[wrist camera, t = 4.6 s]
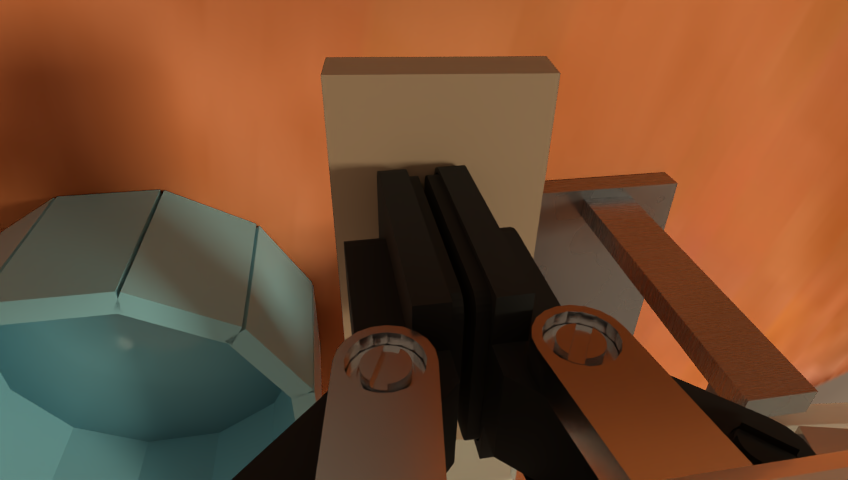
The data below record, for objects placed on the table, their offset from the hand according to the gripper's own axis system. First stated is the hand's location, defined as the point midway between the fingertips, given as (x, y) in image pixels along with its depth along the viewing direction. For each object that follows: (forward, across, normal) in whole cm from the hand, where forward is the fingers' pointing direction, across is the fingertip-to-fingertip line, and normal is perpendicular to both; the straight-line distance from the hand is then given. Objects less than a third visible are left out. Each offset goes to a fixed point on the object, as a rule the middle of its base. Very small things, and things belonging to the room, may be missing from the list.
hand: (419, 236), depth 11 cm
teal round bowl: (+11, +10, +11) cm, 18 cm away
